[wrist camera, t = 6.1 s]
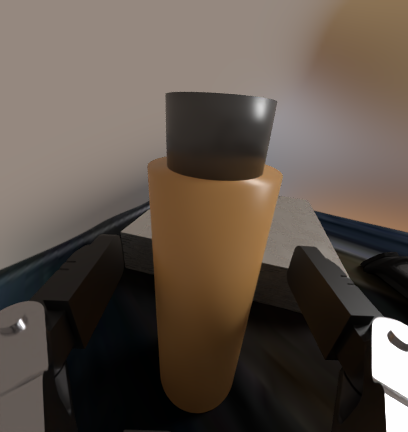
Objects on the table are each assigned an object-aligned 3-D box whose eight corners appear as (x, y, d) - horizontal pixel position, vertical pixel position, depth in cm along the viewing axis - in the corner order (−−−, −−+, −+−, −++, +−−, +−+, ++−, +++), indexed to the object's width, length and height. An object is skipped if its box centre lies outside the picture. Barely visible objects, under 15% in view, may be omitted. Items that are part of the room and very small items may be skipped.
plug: (237, 341, 14) (290, 107, 7) (227, 427, 10) (319, 94, 4) (177, 322, 15) (178, 100, 8) (145, 395, 11) (105, 84, 4)
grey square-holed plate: (299, 225, 29) (307, 200, 28) (331, 320, 16) (351, 282, 14) (183, 205, 33) (184, 182, 31) (125, 267, 19) (120, 231, 17)
